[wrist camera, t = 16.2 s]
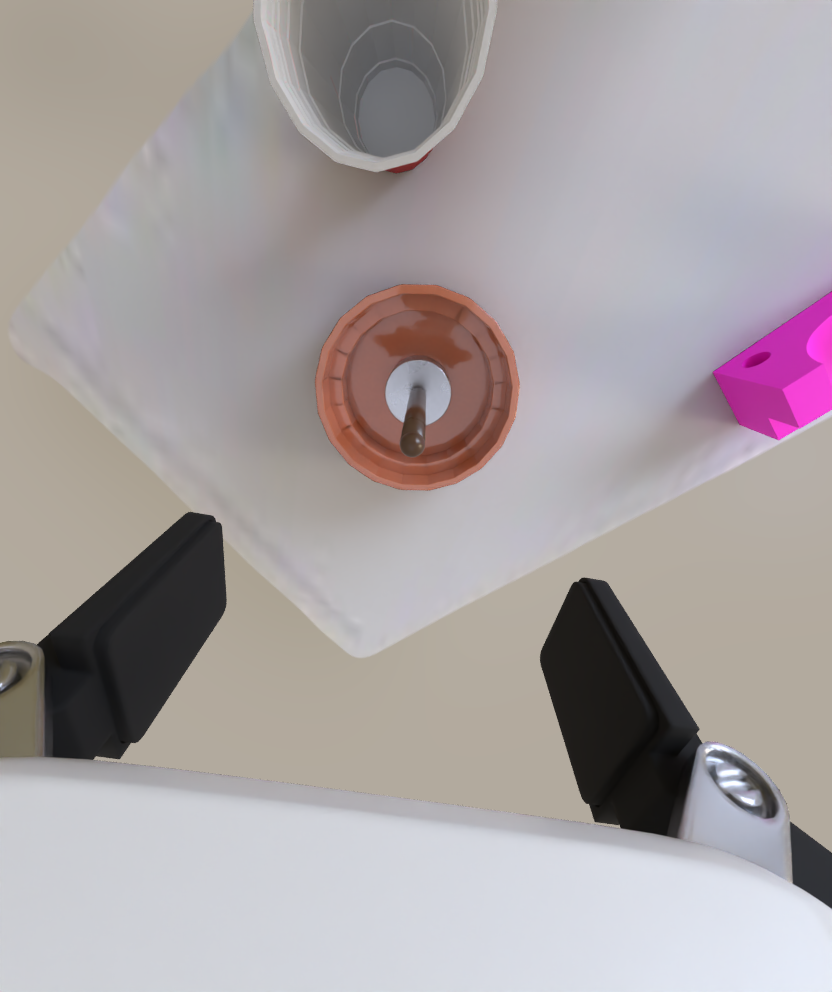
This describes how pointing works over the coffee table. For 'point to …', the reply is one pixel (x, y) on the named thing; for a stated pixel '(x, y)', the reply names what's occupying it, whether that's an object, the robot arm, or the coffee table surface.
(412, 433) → the meat pounder
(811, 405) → the toy block
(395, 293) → the bowl
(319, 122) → the plastic cup
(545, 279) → the coffee table surface
